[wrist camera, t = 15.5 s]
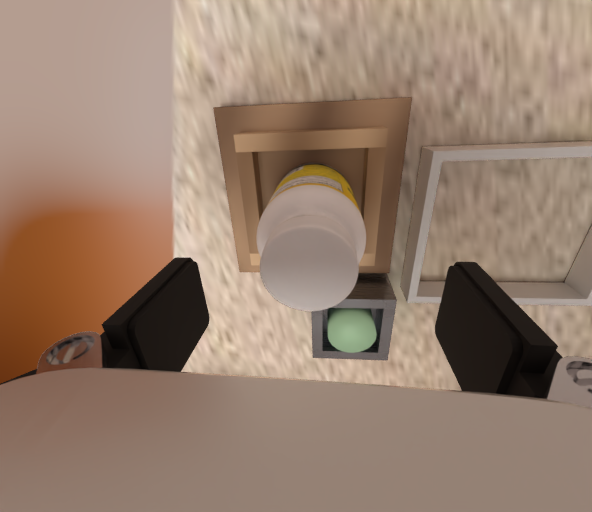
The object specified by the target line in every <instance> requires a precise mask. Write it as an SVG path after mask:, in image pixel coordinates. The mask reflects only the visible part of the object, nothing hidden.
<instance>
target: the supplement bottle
mask: <svg viewBox="0 0 592 512" xmlns="http://www.w3.org/2000/svg"><path fill="white" fill-rule="evenodd" d="M365 246H366V230H365V225H364V221H363V218H362V215H361V213H360V210H359V208H358V205H357V202H356V199H355V197H354V195H353V192H352V189H351V187H350V185H349V183H348V181H347V180H346V178H345V177H344V176H343V175H342V174H341V173H340V172H339V171H338V170H336V169H335V168H333V167H331V166H328V165H325V164H321V163H307V164H303V165H300V166H297V167H295V168H294V169H292V170H291V171H289V172H288V173H287V174H286V175H285V176H284V177H283V179H282V180H281V182H280V183H279V185H278V186H277V188H276V190H275V192H274V194H273V196H272V197H271V199H270V201H269V203H268V205H267V206H266V208H265V210H264V212H263V214H262V216H261V218H260V221H259V224H258V228H257V247H258V252H259V255H260V257H261V259H260V275H261V278H262V281H263V283H264V286H265V287H266V289H267V290H268V292H269V293H270V294H271V295H272V296H273V297H274V298H275V299H276V300H277V301H279V302H280V303H282V304H284V305H286V306H288V307H290V308H293V309H297V310H301V311H319V310H324V309H328V308H330V307H333V306H335V305H337V304H338V303H340V302H341V301H343V300H344V299H345V298H346V297H347V296H348V295H349V294H350V293H351V291H352V290H353V288H354V286H355V284H356V281H357V278H358V273H359V263H360V261H361V259H362V257H363V254H364V251H365Z"/></svg>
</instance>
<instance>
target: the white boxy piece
mask: <svg viewBox="0 0 592 512" xmlns="http://www.w3.org/2000/svg"><path fill="white" fill-rule="evenodd" d="M396 301H397V300H396V297H395V294H394V292H393V289H392V286H391V284H390V281H389V279H388V276H387V273H358V278H357V281H356V284H355V286H354V288H353V290H352V291H351V293H350V294H349V295H348V296H347V297H346V298H345V299H344V300H343V301H341V302H340V303H338V304H337V305H335V306H333V307H330V308H371V312H372V316H373V320H374V324H375V328H376V333H377V335H376V340H375V342H374V343H373V344H372V345H371V346H370V347H369V348H368V349H366V350H364V351H361V352H355V353H348V352H343V351H340V350H338V349H336V348H335V347H334V346H332V344H331V343H330V342H329V339H328V322H327V312H328V309H329V308H328V309H324V310H319V311H312V348H313V358H336V359H363V360H388V353H389V347H390V340H391V334H392V327H393V320H394V314H395V307H396Z"/></svg>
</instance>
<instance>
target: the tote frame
mask: <svg viewBox="0 0 592 512" xmlns="http://www.w3.org/2000/svg"><path fill="white" fill-rule="evenodd" d="M578 157H592V141H573V142H545V143H516V144H488V145H459V146H431V147H422V152H421V158H420V164H419V171H418V177H417V184H416V190H415V197H414V203H413V209H412V216H411V222H410V229H409V235H408V241H407V248H406V254H405V261H404V267H403V273H402V280H401V286H400V287H401V289H402V292H403V294H404V296H405V299H406V301H407V303H441V299H442V294H443V290H444V286H445V281H419V280H420V275H421V270H422V265H423V259H424V254H425V249H426V244H427V239H428V233H429V228H430V223H431V218H432V213H433V207H434V202H435V197H436V192H437V186H438V181H439V176H440V171H441V166H442V162H444V161H478V160H511V159H544V158H578ZM496 283H497V284H498V285H499V286H500V287H501V288H502V289H503V291H504V292H505V293H506V294H507V295H508V296H509V297H510V298H511V299H512V300H513V301H514V302H515V303H516V304H517V305H569V306H592V225H591V228H590V230H589V232H588V234H587V236H586V238H585V240H584V242H583V244H582V246H581V248H580V250H579V253H578V255H577V257H576V259H575V261H574V263H573V265H572V267H571V269H570V271H569V273H568V275H567V278H566V280H565V282H564V283H562V282H496Z"/></svg>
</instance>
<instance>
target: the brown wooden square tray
mask: <svg viewBox="0 0 592 512" xmlns="http://www.w3.org/2000/svg"><path fill="white" fill-rule="evenodd" d="M411 101H412V97H408V98H389V99H370V100H350V101H331V102H312V103H292V104H273V105H254V106H234V107H215V108H213V109H214V115H215V121H216V127H217V134H218V140H219V146H220V152H221V158H222V165H223V171H224V177H225V183H226V190H227V196H228V202H229V208H230V214H231V221H232V227H233V233H234V239H235V246H236V252H237V258H238V264H239V270H240V272H260V259H261V257H260V255H259V252H258V247H257V228H258V224H259V221H260V218H261V216H262V214H263V212H264V210H265V208H266V206H267V205H268V203H269V201H270V199H271V197H272V196H273V194H274V192H275V190H276V188H277V186H278V185H279V183H280V182H281V180H282V179H283V177H284V176H285V175H286V174H287V173H288V172H289V171H291V170H292V169H294V168H295V167H297V166H300V165H303V164H307V163H321V164H325V165H328V166H331V167H333V168H335V169H336V170H338V171H339V172H340V173H341V174H342V175H343V176H344V177H345V178H346V180H347V181H348V183H349V185H350V187H351V189H352V192H353V195H354V197H355V199H356V202H357V205H358V208H359V210H360V213H361V215H362V218H363V221H364V225H365V230H366V246H365V251H364V254H363V257H362V259H361V261H360V263H359V273H389V271H390V263H391V255H392V247H393V240H394V232H395V224H396V217H397V209H398V201H399V194H400V186H401V178H402V171H403V163H404V155H405V147H406V140H407V132H408V124H409V117H410V109H411Z"/></svg>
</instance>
